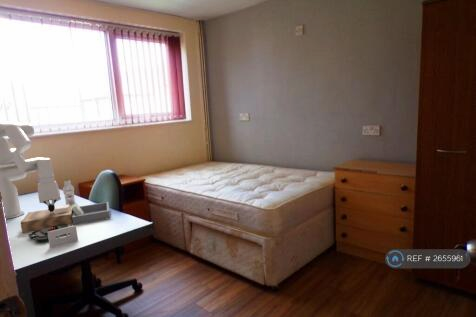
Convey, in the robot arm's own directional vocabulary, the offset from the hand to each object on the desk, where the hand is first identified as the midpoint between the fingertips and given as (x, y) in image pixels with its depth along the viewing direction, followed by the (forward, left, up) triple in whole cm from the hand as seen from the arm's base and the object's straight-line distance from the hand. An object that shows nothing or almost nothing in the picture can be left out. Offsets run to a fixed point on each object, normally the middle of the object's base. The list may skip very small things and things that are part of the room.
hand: (52, 211), depth 185 cm
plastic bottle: (+7, +21, -7) cm, 23 cm away
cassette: (+9, -40, -7) cm, 42 cm away
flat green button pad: (+2, -23, -8) cm, 24 cm away
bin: (+20, 0, -7) cm, 22 cm away
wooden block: (-2, 0, -7) cm, 7 cm away
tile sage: (+12, 0, -2) cm, 12 cm away
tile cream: (+5, 0, -1) cm, 5 cm away
